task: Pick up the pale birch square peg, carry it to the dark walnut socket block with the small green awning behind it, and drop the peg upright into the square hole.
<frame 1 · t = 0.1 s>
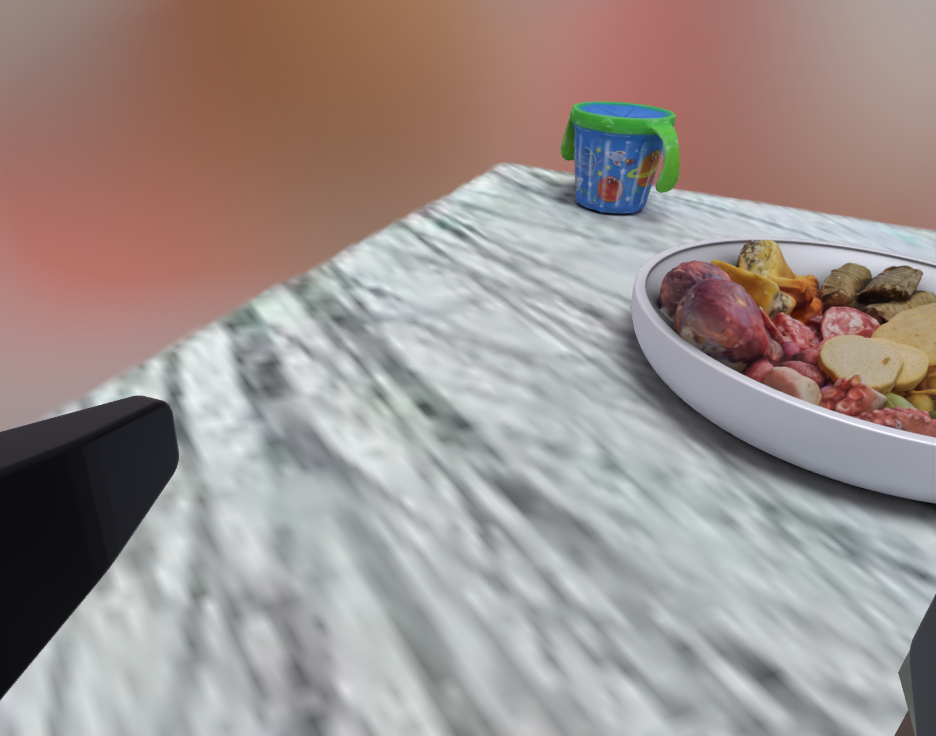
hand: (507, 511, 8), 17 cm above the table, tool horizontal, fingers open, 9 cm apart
snack cup: (608, 207, 80), on the table
bowl: (852, 387, 48), on the table
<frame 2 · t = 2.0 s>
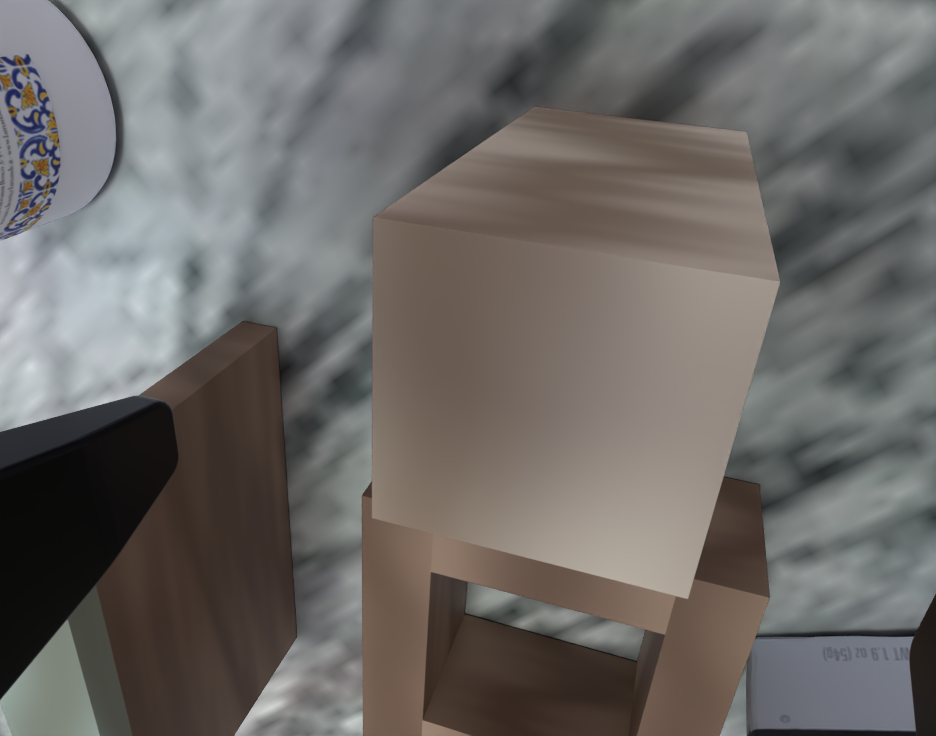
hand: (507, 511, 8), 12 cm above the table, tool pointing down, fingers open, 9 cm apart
bath foam: (31, 99, 22), on the table
socket block: (559, 572, 24), on the table
peg: (619, 221, 19), on the table
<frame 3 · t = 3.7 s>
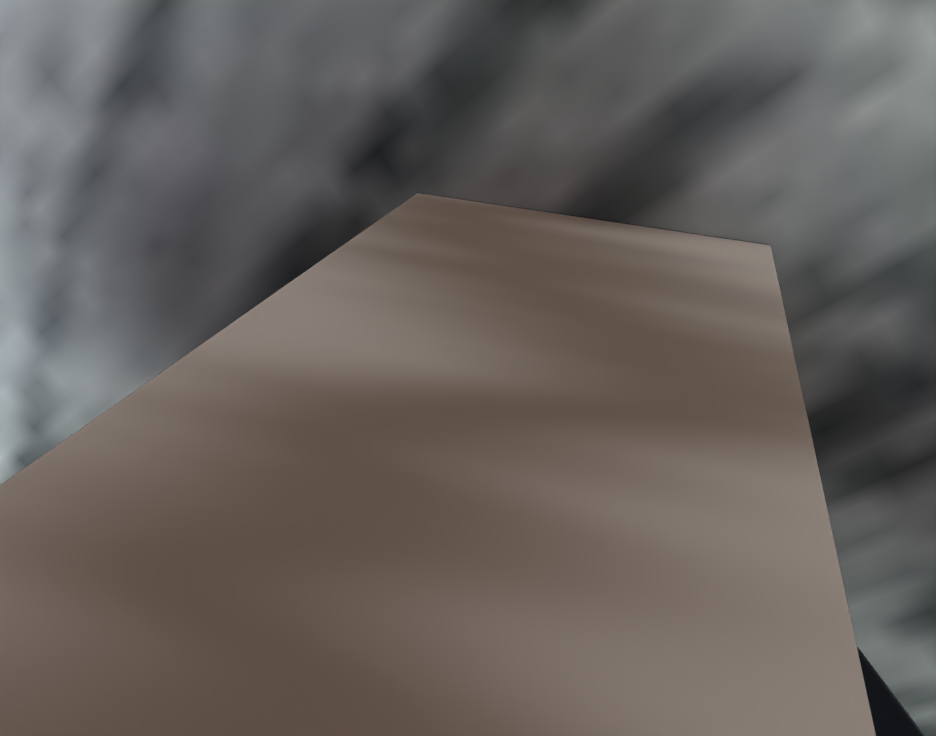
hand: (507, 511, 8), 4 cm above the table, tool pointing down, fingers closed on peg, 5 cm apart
peg: (561, 372, 11), on the table, touching gripper
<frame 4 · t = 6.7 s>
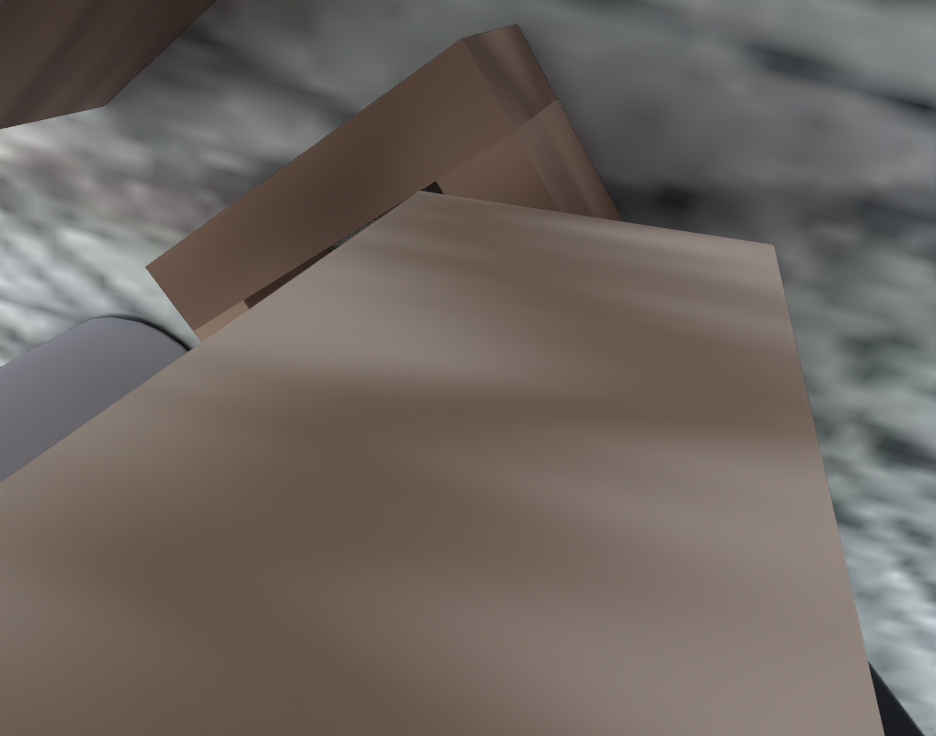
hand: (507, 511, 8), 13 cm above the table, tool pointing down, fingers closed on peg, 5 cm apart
socket block: (459, 287, 22), on the table
cup: (125, 402, 28), on the table
peg: (563, 371, 11), point 9 cm above the table, touching gripper
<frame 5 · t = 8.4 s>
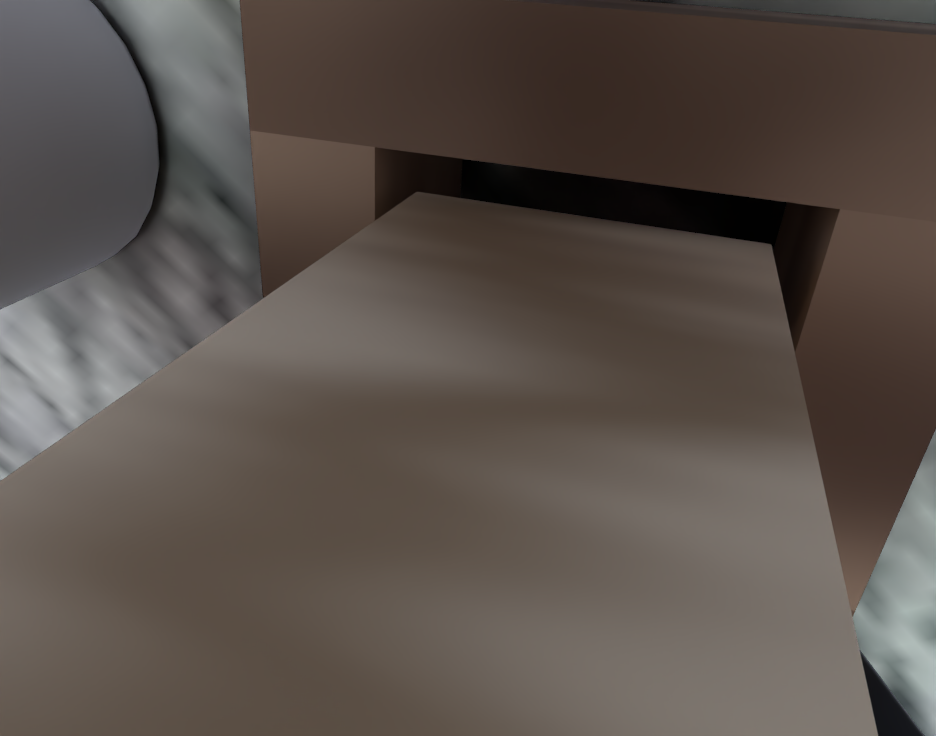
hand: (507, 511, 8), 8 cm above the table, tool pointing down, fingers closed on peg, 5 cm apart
socket block: (600, 278, 15), on the table
peg: (561, 371, 11), point 4 cm above the table, touching gripper
when the fingers open (6 cm above the table, at t = 9.8 s): peg drops 3 cm, resting in socket block.
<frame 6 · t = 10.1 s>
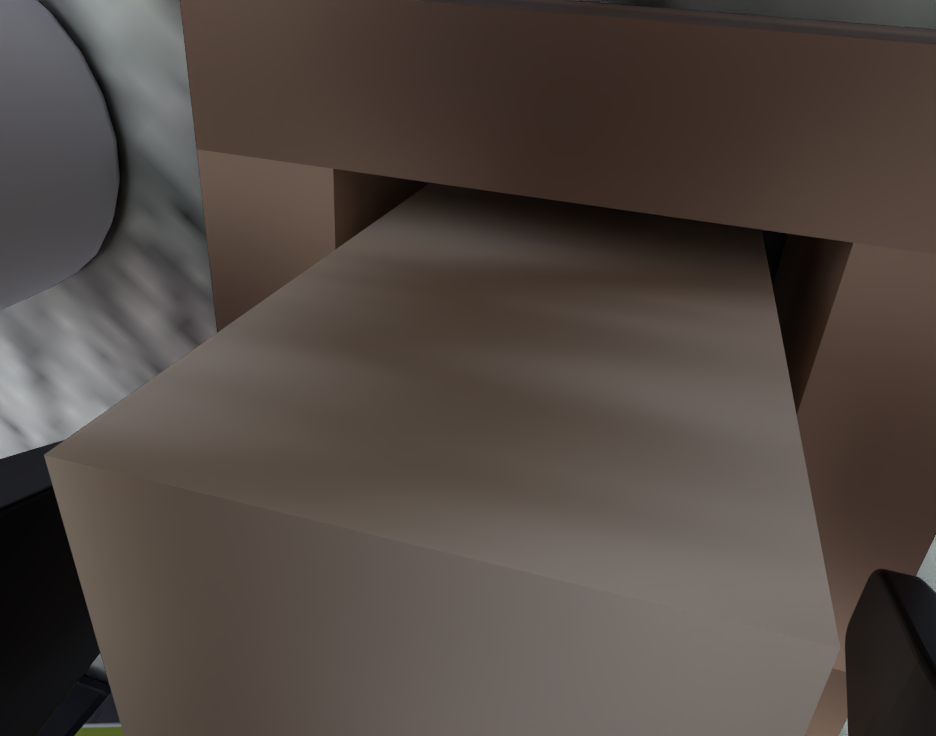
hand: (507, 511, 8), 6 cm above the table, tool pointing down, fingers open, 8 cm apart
socket block: (590, 302, 14), on the table
peg: (587, 302, 14), resting in socket block
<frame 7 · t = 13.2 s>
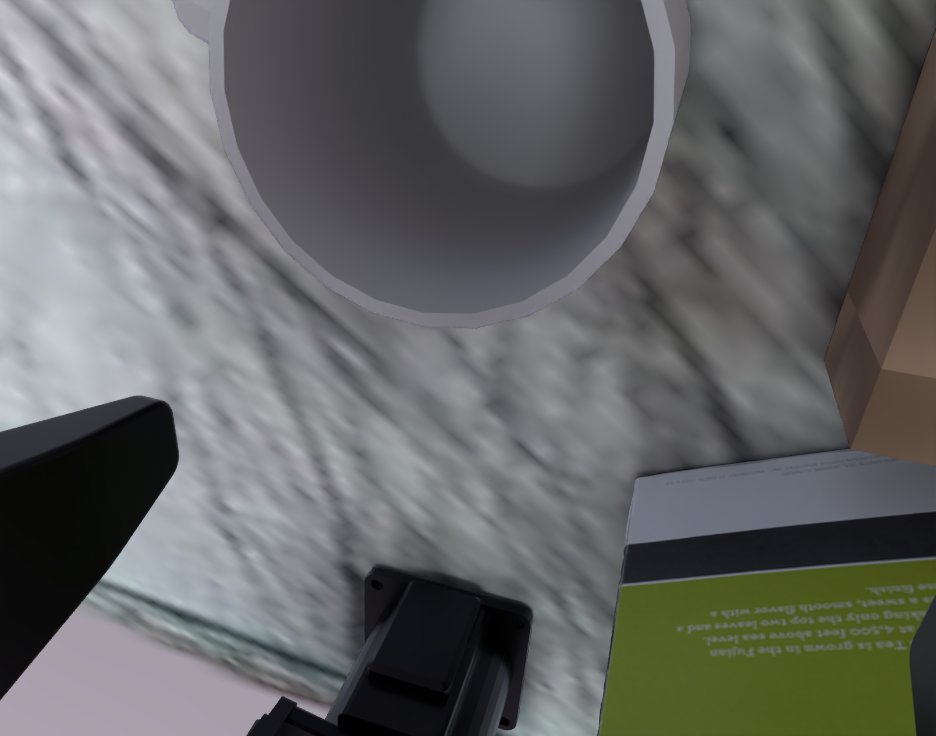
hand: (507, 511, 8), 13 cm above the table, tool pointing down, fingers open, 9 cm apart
tea box: (838, 632, 24), on the table
cup: (494, 37, 19), on the table
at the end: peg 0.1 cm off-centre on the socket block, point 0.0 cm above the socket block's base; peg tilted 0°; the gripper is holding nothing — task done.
